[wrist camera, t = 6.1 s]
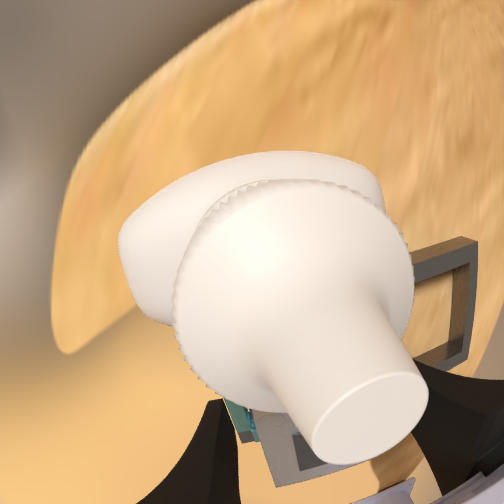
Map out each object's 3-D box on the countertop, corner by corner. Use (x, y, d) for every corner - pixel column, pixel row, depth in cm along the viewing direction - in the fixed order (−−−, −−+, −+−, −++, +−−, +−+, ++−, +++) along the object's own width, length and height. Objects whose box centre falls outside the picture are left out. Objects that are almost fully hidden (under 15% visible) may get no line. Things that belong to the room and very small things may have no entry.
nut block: (337, 379, 15) (381, 456, 9) (257, 400, 15) (276, 489, 9) (330, 309, 14) (390, 381, 8) (239, 332, 14) (253, 423, 8)
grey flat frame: (454, 349, 16) (468, 360, 15) (239, 425, 16) (242, 445, 14) (461, 236, 14) (479, 241, 13) (198, 308, 14) (196, 324, 12)
